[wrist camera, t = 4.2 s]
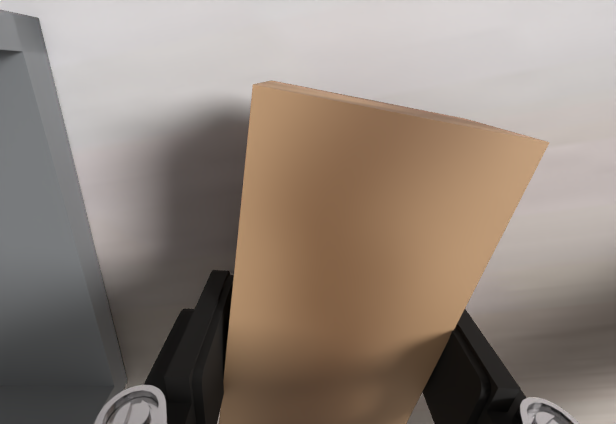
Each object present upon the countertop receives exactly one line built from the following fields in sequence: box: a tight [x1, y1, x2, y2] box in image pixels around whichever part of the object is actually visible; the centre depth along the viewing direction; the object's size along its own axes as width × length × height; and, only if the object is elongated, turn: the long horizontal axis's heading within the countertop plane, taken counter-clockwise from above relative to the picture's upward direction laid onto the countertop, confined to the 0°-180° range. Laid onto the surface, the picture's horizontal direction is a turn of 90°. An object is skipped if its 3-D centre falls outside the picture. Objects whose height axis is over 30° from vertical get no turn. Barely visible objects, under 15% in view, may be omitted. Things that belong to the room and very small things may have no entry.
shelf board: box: [219, 81, 549, 424], centre depth 10 cm, size 6×14×4 cm, turn 170°
